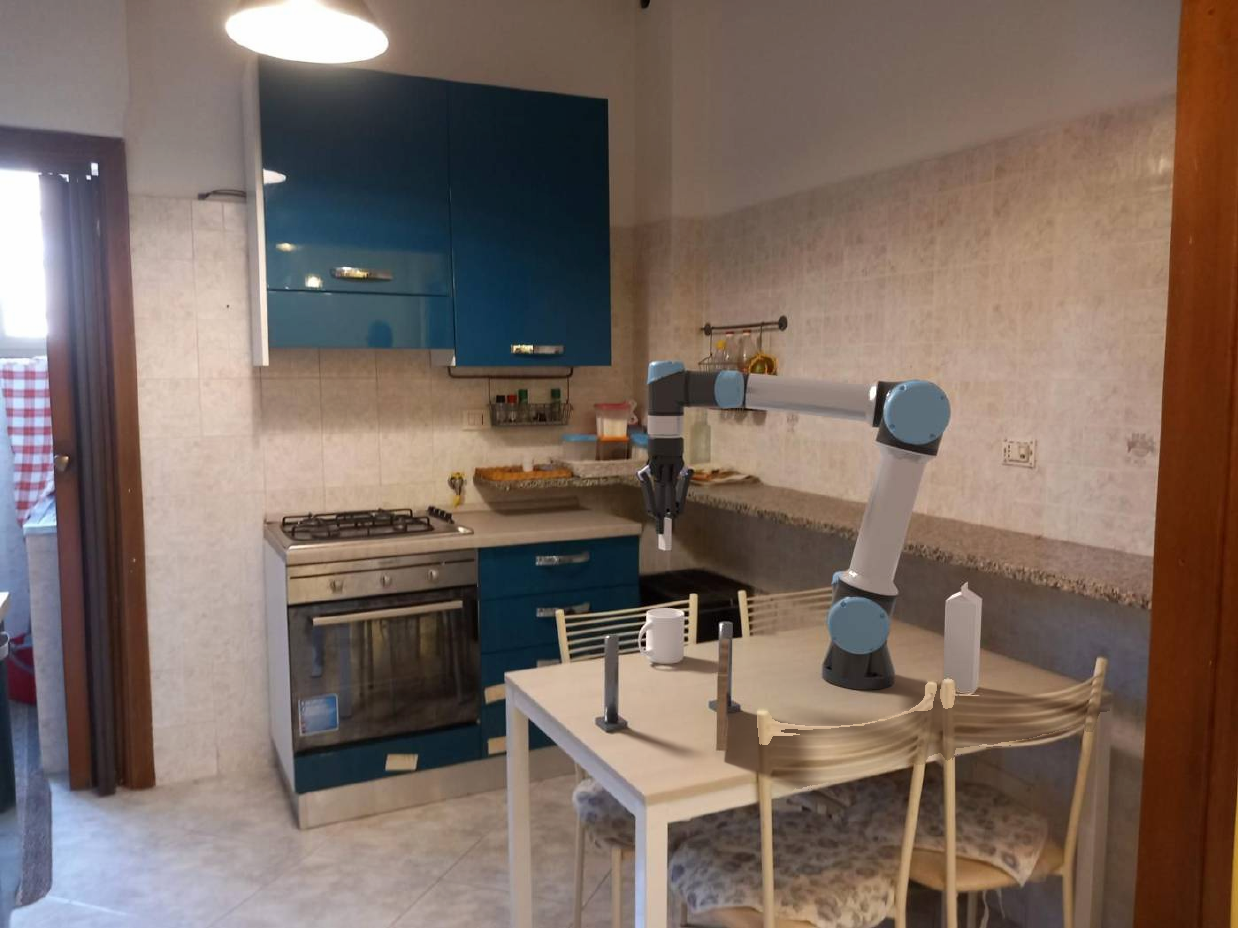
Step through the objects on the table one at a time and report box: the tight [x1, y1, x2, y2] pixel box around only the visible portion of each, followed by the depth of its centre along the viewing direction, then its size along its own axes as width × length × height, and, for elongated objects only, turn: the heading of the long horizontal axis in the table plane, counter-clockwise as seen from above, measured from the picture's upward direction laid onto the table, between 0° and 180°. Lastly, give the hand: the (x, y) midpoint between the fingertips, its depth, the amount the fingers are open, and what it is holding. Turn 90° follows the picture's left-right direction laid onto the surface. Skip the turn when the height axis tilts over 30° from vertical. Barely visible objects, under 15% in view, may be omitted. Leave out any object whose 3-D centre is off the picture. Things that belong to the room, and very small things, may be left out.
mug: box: [638, 607, 685, 665], centre depth 211 cm, size 9×12×11 cm
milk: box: [942, 581, 983, 694], centre depth 192 cm, size 6×6×22 cm
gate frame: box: [594, 621, 742, 733], centre depth 176 cm, size 28×7×17 cm, turn 118°
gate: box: [715, 638, 729, 752], centre depth 168 cm, size 22×2×13 cm, turn 172°
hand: (664, 549), depth 195 cm, fingers closed
